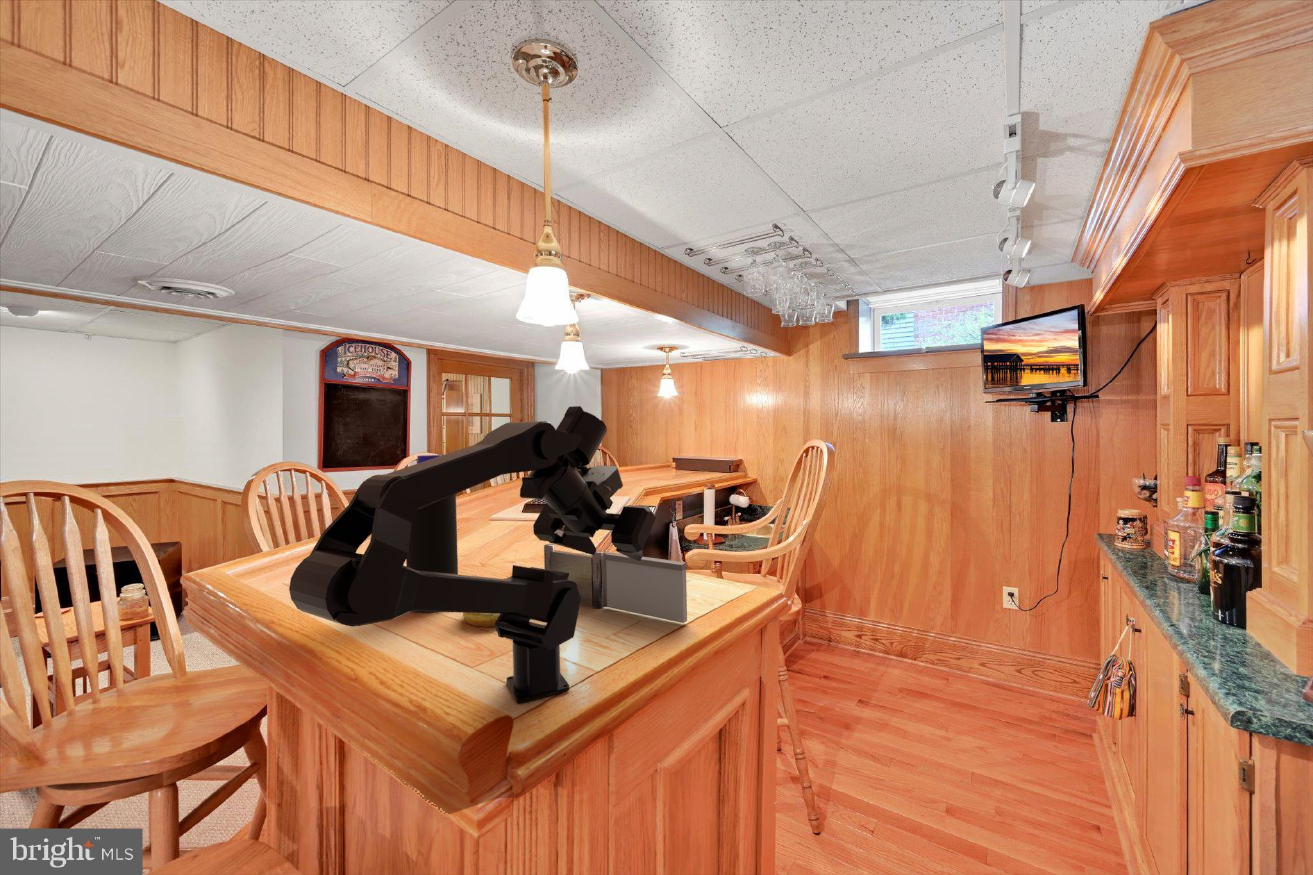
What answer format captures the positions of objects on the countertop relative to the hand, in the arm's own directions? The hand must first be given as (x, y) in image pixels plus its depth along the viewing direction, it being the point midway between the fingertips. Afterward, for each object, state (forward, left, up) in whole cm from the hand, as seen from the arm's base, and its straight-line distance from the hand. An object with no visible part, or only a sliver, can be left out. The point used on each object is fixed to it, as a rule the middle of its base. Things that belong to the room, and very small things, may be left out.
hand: (616, 555), depth 80 cm
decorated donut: (+19, +15, -13) cm, 27 cm away
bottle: (+32, +24, -13) cm, 42 cm away
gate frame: (+20, +1, -13) cm, 24 cm away
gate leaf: (+6, -7, -12) cm, 16 cm away
